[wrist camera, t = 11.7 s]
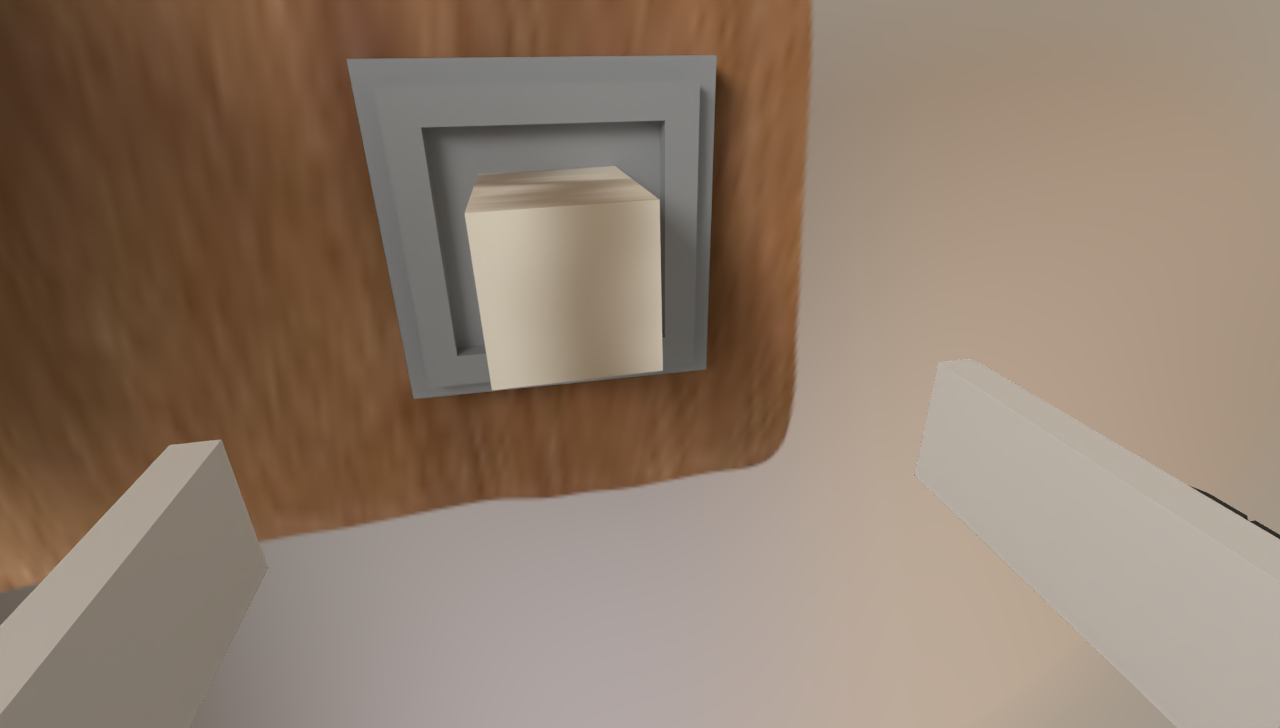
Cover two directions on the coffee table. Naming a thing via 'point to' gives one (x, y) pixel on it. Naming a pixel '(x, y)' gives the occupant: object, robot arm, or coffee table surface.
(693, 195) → the slate plinth
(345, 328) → the coffee table surface
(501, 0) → the coffee table surface
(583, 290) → the birch block
